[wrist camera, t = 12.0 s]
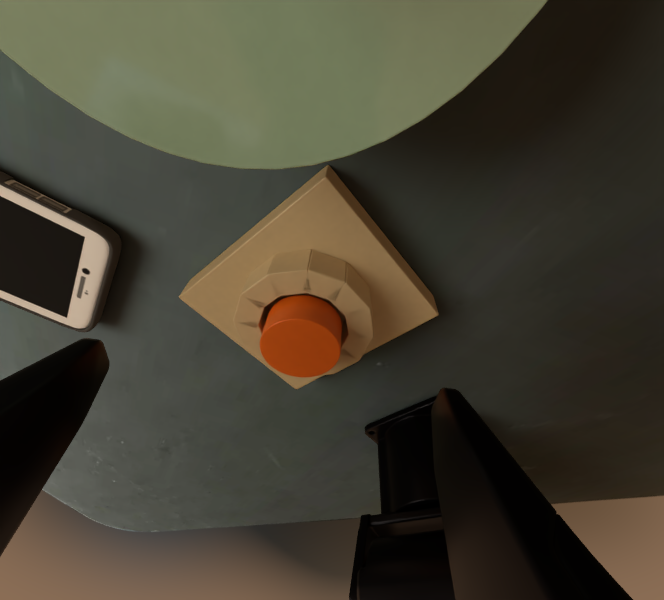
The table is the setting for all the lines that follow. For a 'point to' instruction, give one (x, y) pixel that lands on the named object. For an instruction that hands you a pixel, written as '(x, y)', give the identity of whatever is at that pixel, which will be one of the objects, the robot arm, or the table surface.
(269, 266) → the control block
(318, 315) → the button
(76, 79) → the lid
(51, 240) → the cell phone
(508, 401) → the table surface
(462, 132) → the table surface
